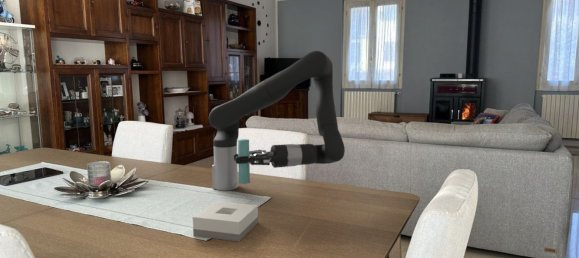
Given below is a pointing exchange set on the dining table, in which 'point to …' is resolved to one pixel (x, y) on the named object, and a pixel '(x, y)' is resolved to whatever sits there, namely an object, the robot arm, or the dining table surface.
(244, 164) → the pin
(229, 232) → the block
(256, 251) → the dining table surface
